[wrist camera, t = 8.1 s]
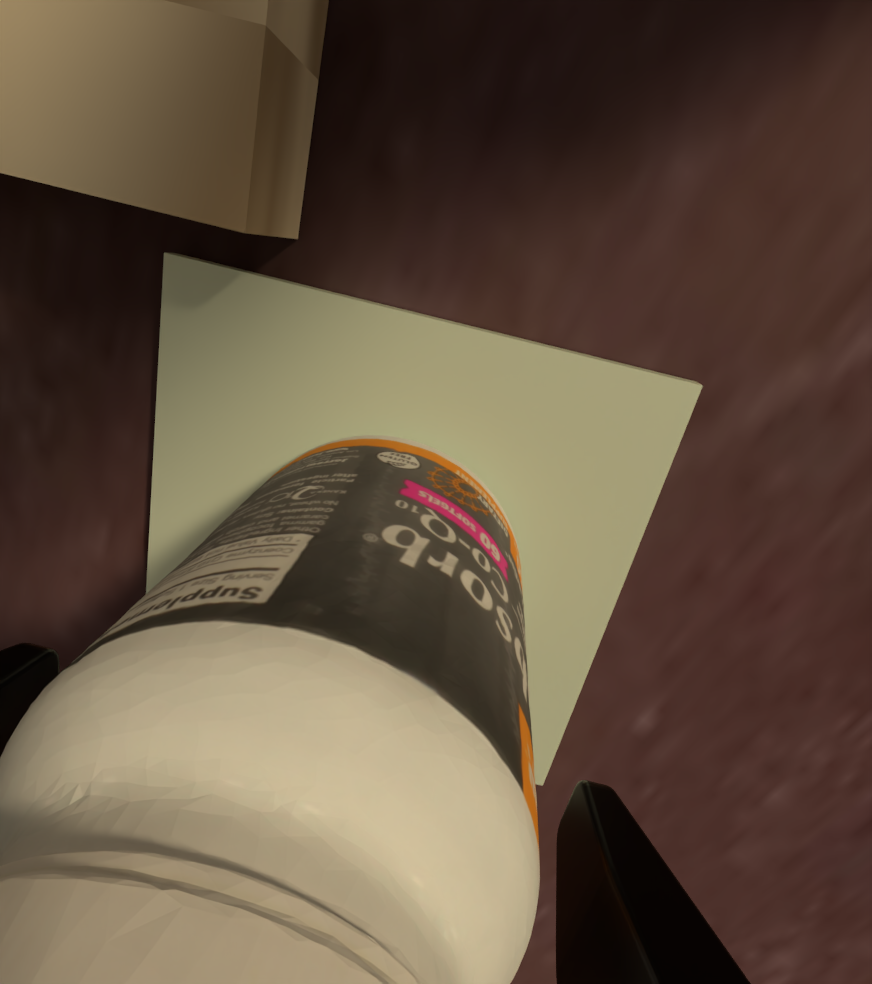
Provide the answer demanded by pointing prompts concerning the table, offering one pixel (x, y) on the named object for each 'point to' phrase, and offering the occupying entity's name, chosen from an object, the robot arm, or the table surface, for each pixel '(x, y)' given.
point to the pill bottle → (291, 750)
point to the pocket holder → (165, 103)
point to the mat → (416, 438)
